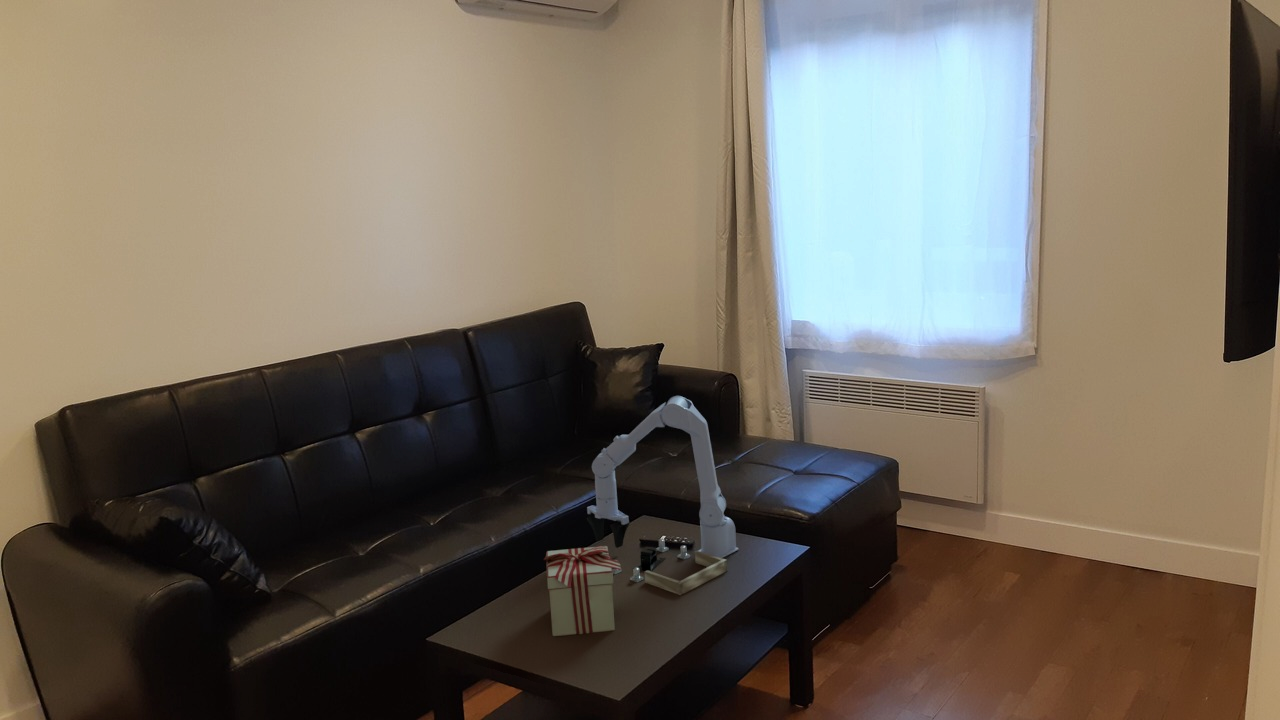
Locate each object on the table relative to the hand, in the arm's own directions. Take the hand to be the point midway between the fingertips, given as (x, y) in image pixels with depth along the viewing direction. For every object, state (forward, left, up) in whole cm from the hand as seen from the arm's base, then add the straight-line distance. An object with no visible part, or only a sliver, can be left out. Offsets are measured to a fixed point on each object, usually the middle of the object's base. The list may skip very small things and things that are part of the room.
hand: (609, 543), depth 261 cm
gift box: (+33, +26, -3) cm, 42 cm away
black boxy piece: (0, +15, -3) cm, 15 cm away
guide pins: (0, +15, -2) cm, 15 cm away
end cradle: (0, +28, -2) cm, 28 cm away
